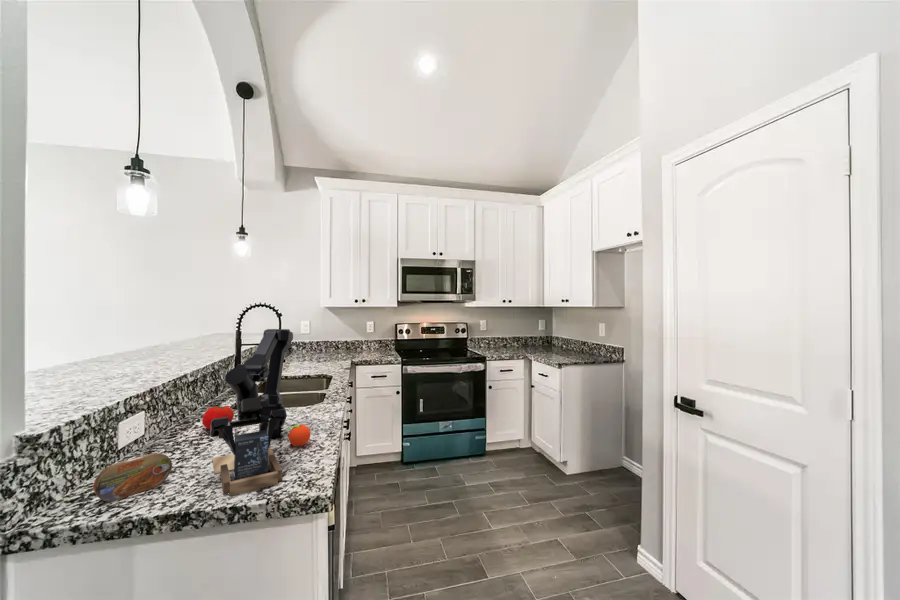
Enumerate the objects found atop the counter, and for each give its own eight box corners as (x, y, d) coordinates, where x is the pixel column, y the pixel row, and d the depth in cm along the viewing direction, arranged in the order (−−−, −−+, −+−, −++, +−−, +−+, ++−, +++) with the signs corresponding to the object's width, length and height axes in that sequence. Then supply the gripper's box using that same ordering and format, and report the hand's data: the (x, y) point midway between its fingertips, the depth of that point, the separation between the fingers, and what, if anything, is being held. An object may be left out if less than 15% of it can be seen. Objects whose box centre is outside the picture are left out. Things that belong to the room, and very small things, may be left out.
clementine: (284, 451, 117) (284, 429, 117) (285, 443, 124) (285, 422, 124) (310, 448, 120) (311, 426, 120) (310, 440, 126) (310, 420, 127)
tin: (95, 508, 83) (96, 471, 83) (90, 503, 85) (92, 467, 85) (172, 481, 96) (173, 450, 96) (167, 478, 98) (168, 447, 98)
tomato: (197, 429, 135) (197, 407, 135) (225, 422, 144) (226, 401, 144) (209, 434, 130) (210, 411, 130) (238, 426, 139) (239, 404, 139)
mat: (270, 447, 120) (270, 447, 120) (277, 461, 110) (277, 460, 110) (212, 459, 110) (212, 458, 110) (214, 474, 100) (214, 473, 100)
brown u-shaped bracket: (273, 464, 107) (274, 454, 107) (283, 483, 96) (283, 471, 97) (220, 476, 100) (220, 465, 100) (223, 497, 89) (224, 485, 89)
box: (235, 481, 95) (235, 441, 95) (233, 472, 100) (234, 434, 100) (268, 473, 99) (268, 435, 100) (265, 466, 104) (266, 429, 104)
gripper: (212, 389, 98) (212, 443, 88) (286, 381, 108) (293, 429, 99) (210, 410, 104) (210, 463, 95) (280, 401, 115) (286, 448, 106)
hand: (252, 450), depth 99 cm, fingers closed on box, 8 cm apart
